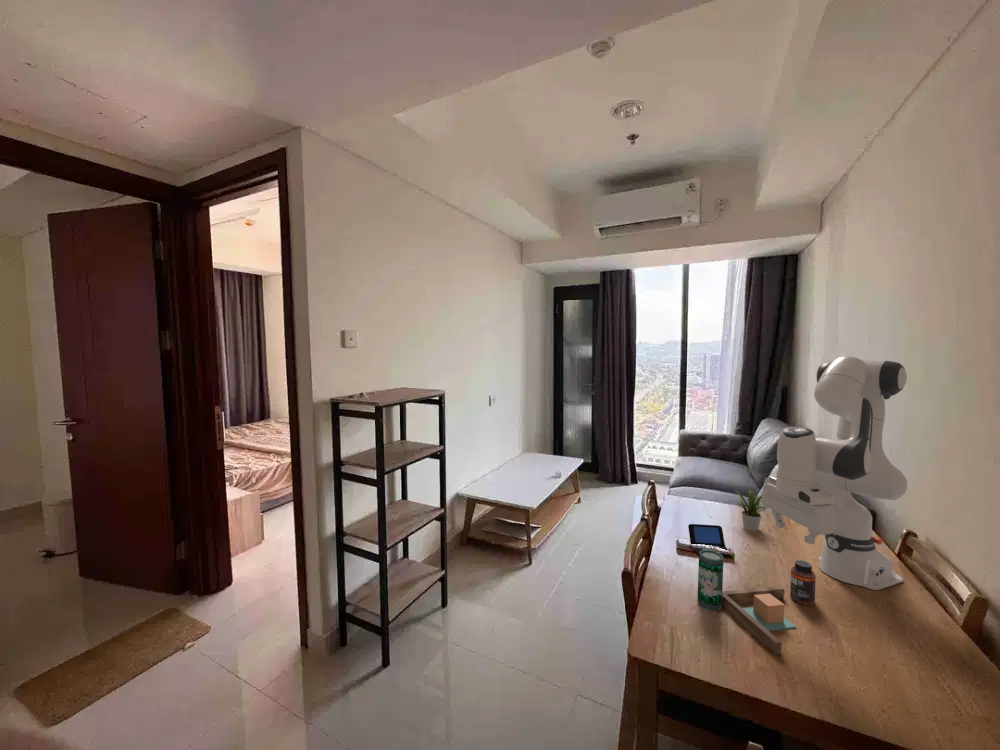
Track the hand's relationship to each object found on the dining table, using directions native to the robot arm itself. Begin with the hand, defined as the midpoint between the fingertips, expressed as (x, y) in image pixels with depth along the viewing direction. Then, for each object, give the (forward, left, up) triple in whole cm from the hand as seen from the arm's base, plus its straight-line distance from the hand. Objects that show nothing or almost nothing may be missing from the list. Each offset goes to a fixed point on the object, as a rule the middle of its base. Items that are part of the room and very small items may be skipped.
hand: (794, 534), depth 111 cm
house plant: (-32, -50, -24) cm, 63 cm away
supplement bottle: (-10, -6, -24) cm, 26 cm away
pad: (+7, 0, -24) cm, 25 cm away
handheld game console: (-2, -37, -24) cm, 44 cm away
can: (+19, -8, -24) cm, 32 cm away
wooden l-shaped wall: (+6, +2, -24) cm, 24 cm away
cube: (+7, 0, -23) cm, 24 cm away
